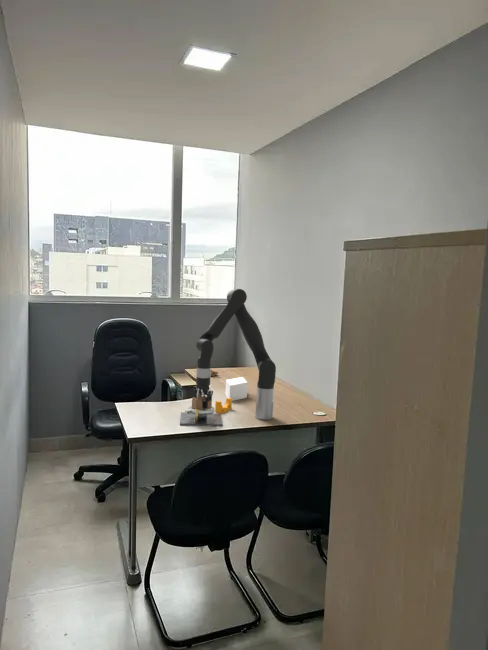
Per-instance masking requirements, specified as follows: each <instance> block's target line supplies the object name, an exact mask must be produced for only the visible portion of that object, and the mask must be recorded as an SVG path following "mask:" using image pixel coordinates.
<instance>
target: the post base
mask: <svg viewBox="0 0 488 650" xmlns="http://www.w3.org/2000/svg"><path fill="white" fill-rule="evenodd" d="M179 418H180V419H179V426H193V427H194V426H195V427H196V426H197V427H223V424H224V423H223V420H222V419H223V418H222V413H217V412H214V413H212V414H208V415H198V423H195V414H193V413H189V414H186V413H185V411H184V412H182V411H181V412H180V417H179Z"/></svg>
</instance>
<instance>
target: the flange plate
mask: <svg viewBox="0 0 488 650" xmlns="http://www.w3.org/2000/svg"><path fill="white" fill-rule="evenodd" d="M191 398H192V399H191V405H190V406H188V409H184V412H185V413H186V414H189V413H193V414H195V409H198V415H208V414H212V413H216V412H215V407H214V406H212V405H213V404H212V403H213V397H212V398H211V401H208V407H207V408H206V409H204V408H203V406H204V399H203V397H202V396H200V397H194V396H193V397H191Z"/></svg>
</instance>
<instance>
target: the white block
mask: <svg viewBox="0 0 488 650" xmlns="http://www.w3.org/2000/svg"><path fill="white" fill-rule="evenodd" d="M247 394H248V381H247V380H246V378H245V377H243V376H241V377H233V378H229V379H225V394H224V396H225V397H226V399H227V398H232V402H233V401H238V400H242V399H243V400H244V399H246V398H248V397H247V396H248V395H247Z"/></svg>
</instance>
